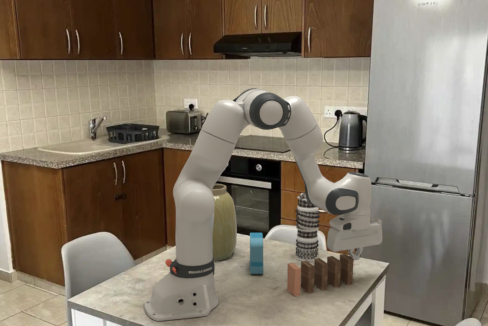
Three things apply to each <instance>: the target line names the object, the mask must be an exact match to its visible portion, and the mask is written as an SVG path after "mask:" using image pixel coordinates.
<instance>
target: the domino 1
mask: <svg viewBox="0 0 488 326" xmlns="http://www.w3.org/2000/svg"><path fill="white" fill-rule="evenodd" d="M286 274H287V275H286V277H287V278H286V279H287V280H286V284H287V285H286V290H287V291H288V292H289V293H291V295H293V297H297V296H301V267H299V266H298V265H297V264H296V263H294V262H291V263H287V273H286Z"/></svg>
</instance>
